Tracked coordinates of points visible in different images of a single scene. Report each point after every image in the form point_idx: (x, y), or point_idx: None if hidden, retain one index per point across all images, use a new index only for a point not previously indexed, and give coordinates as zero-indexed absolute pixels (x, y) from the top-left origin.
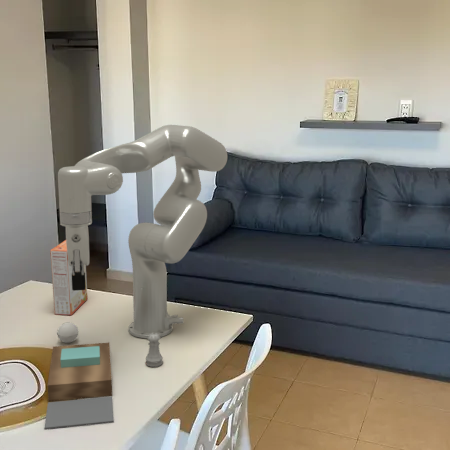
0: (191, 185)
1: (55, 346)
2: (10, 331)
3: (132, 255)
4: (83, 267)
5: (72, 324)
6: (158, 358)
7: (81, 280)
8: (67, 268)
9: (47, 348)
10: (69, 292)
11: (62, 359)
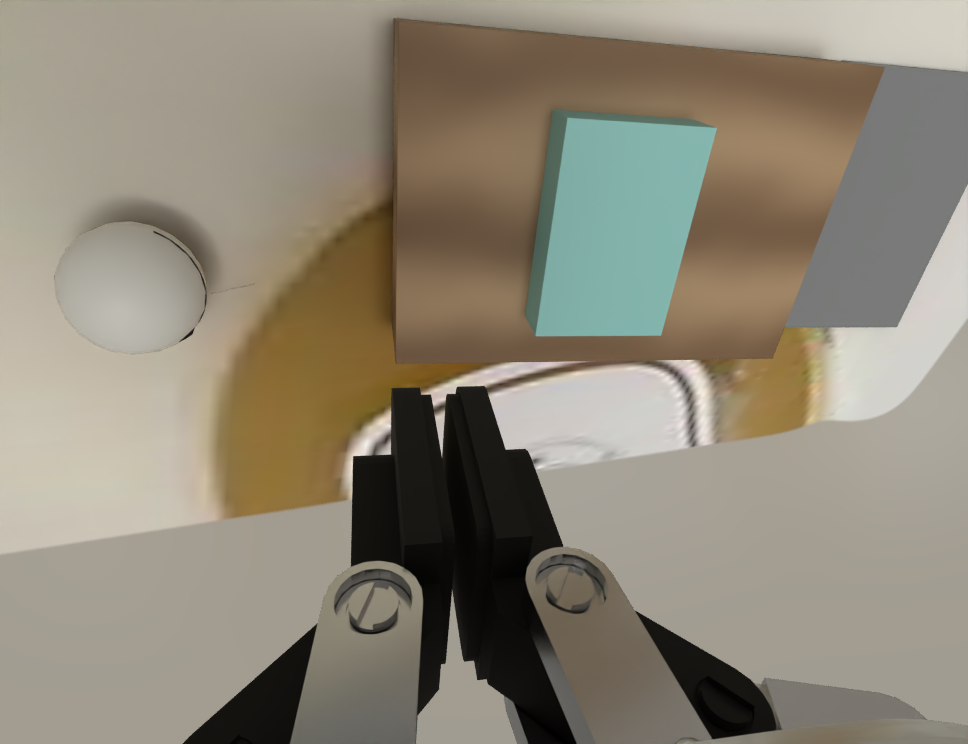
0: None
1: (397, 353)
2: (22, 530)
3: None
4: (669, 698)
5: (118, 283)
6: None
7: (548, 513)
8: None
9: (239, 361)
10: None
11: (659, 327)
